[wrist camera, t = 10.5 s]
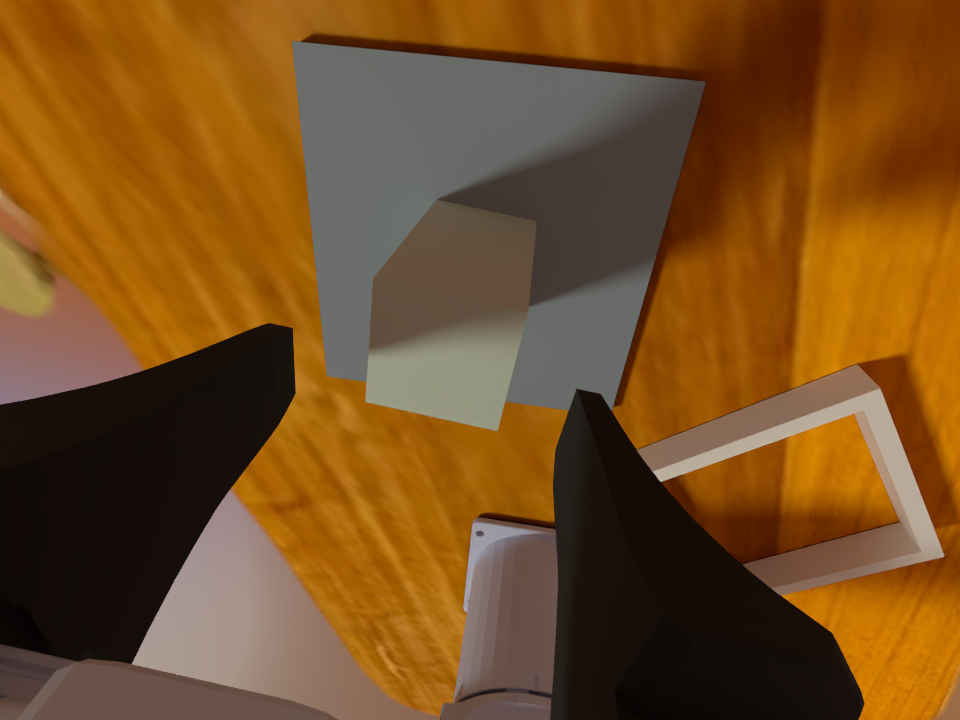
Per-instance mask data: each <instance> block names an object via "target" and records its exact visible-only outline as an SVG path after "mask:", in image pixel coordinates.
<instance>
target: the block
mask: <svg viewBox="0 0 960 720" xmlns="http://www.w3.org/2000/svg"><path fill="white" fill-rule="evenodd" d="M536 226H537V221H534V220H530V219H525V218H520V217H516V216H511V215H506V214H502V213H497V212H493V211H488V210H483V209H479V208H474V207H469V206H465V205H460V204H456V203H451V202H446V201H442V200H437V199H436V201H435V202H434V203H433V204H432V206H431V207H430V208H429V209H428V211H427V212H426V213H425V214H424V216H423V217H422V218H421V219H420V221H419V222H418V223H417V224H416V226H415V227H414V228H413V229H412V231H411V232H410V233H409V234H408V236H407V237H406V238H405V239H404V241H403V242H402V243H401V244H400V246H399V247H398V248H397V249H396V251H395V252H394V253H393V254H392V256H391V257H390V258H389V259H388V261H387V262H386V263H385V264H384V266H383V267H382V268H381V269H380V271H379V272H378V273H377V274H376V275H375V277H374V278H373V288H372V304H371V320H370V337H369V353H368V369H367V385H366V401H365V402H368V403H373V404H377V405H382V406H387V407H391V408H396V409H400V410H405V411H409V412H414V413H418V414H423V415H427V416H432V417H436V418H441V419H445V420H450V421H454V422H459V423H463V424H468V425H472V426H477V427H481V428H486V429H490V430H495V431H498V427H499V423H500V419H501V415H502V411H503V408H504V404H505V400H506V396H507V392H508V388H509V384H510V381H511V377H512V373H513V369H514V365H515V361H516V358H517V354H518V350H519V346H520V342H521V338H522V334H523V331H524V327H525V323H526V319H527V315H528V310H529V299H530V289H531V278H532V268H533V257H534V247H535V237H536Z"/></svg>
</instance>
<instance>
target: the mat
mask: <svg viewBox="0 0 960 720" xmlns="http://www.w3.org/2000/svg"><path fill="white" fill-rule="evenodd" d="M292 46H293V56H294V65H295V75H296V84H297V94H298V103H299V113H300V122H301V132H302V141H303V151H304V160H305V170H306V179H307V189H308V198H309V208H310V218H311V227H312V237H313V246H314V256H315V265H316V275H317V284H318V294H319V303H320V313H321V322H322V332H323V341H324V351H325V360H326V370H327V376H330V377H337V378H344V379H351V380H358V381H366V382H367V369H368V353H369V337H370V320H371V304H372V288H373V278H374V277H375V275H376V274H377V273H378V272H379V271H380V269H381V268H382V267H383V266H384V264H385V263H386V262H387V261H388V259H389V258H390V257H391V256H392V254H393V253H394V252H395V251H396V249H397V248H398V247H399V246H400V244H401V243H402V242H403V241H404V239H405V238H406V237H407V236H408V234H409V233H410V232H411V231H412V229H413V228H414V227H415V226H416V224H417V223H418V222H419V221H420V219H421V218H422V217H423V216H424V214H425V213H426V212H427V211H428V209H429V208H430V207H431V206H432V204H433V203H434V202H435V201H436V199H437V200H442V201H446V202H451V203H456V204H460V205H465V206H469V207H474V208H479V209H483V210H488V211H493V212H497V213H502V214H506V215H511V216H516V217H520V218H525V219H530V220H534V221H537V226H536V237H535V247H534V257H533V268H532V278H531V289H530V299H529V310H528V315H527V319H526V323H525V327H524V331H523V334H522V338H521V342H520V346H519V350H518V354H517V358H516V361H515V365H514V369H513V373H512V377H511V381H510V384H509V388H508V392H507V396H506V400H505V401H507V402H514V403H521V404H528V405H535V406H542V407H549V408H556V409H563V410H569V409H570V406H571V403H572V400H573V397H574V394H575V392H576V389H580V390H585V391H590V392H594V393H599V394H601V395H602V396H603V398H604V400H605V401H606V403H607V405H608V406H609V408H610V409H611V411H612V408H613V405H614V401H615V398H616V394H617V391H618V387H619V384H620V380H621V377H622V373H623V370H624V367H625V363H626V360H627V356H628V353H629V349H630V346H631V342H632V339H633V335H634V332H635V328H636V325H637V321H638V318H639V314H640V311H641V307H642V304H643V300H644V297H645V293H646V290H647V286H648V283H649V279H650V276H651V272H652V269H653V265H654V262H655V258H656V255H657V251H658V248H659V244H660V241H661V237H662V234H663V230H664V227H665V224H666V220H667V217H668V213H669V210H670V206H671V203H672V199H673V196H674V192H675V189H676V185H677V182H678V178H679V175H680V171H681V168H682V164H683V161H684V157H685V154H686V150H687V147H688V143H689V140H690V136H691V133H692V129H693V126H694V122H695V119H696V115H697V112H698V108H699V105H700V101H701V98H702V94H703V91H704V87H705V84H706V82H704V81H696V80H686V79H676V78H666V77H656V76H645V75H635V74H625V73H615V72H604V71H594V70H584V69H574V68H563V67H553V66H543V65H533V64H523V63H512V62H502V61H492V60H482V59H471V58H461V57H451V56H441V55H430V54H420V53H410V52H400V51H390V50H379V49H369V48H359V47H349V46H338V45H328V44H318V43H308V42H295V41H292Z"/></svg>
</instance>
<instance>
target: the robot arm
mask: <svg viewBox="0 0 960 720" xmlns="http://www.w3.org/2000/svg"><path fill="white" fill-rule="evenodd" d="M295 394H296V392H295V370H294V347H293V328H290V327H285V326H280V325H276V324H271V323H268V324H265V325H261V326H259V327H256V328H253V329H251V330H248V331H246V332H243V333H241V334H238V335H236V336H233V337H231V338H228V339H226V340H224V341H221V342H219V343H216V344H214V345H211V346H209V347H206V348H204V349H201V350H199V351H196V352H194V353H191V354H189V355H186V356H183V357H180V358H178V359H175V360H172V361H169V362H167V363H164V364H161V365H158V366H156V367H153V368H150V369H147V370H144V371H141V372H138V373H135V374H132V375H128V376H125V377H121V378H118V379H114V380H111V381H107V382H104V383H100V384H97V385H92V386H89V387H85V388H80V389H75V390H71V391H66V392H62V393H58V394H53V395H48V396H44V397H39V398H35V399H29V400H24V401H18V402H13V403H7V404H2V405H0V720H337V719H336V718H334V717H333V716H331V715H330V714H328V713H326V712H323V711H320V710H317V709H314V708H311V707H309V706H306V705H303V704H300V703H297V702H294V701H291V700H286V699H282V698H278V697H273V696H269V695H264V694H260V693H255V692H251V691H247V690H242V689H238V688H233V687H229V686H225V685H220V684H216V683H211V682H207V681H202V680H198V679H194V678H189V677H185V676H180V675H176V674H172V673H167V672H162V671H158V670H154V669H149V668H145V667H141V666H136V665H132V662H133V660H134V658H135V656H136V654H137V652H138V650H139V648H140V645H141V644H142V642H143V640H144V638H145V636H146V634H147V631H148V629H149V627H150V626H151V624H152V622H153V620H154V618H155V616H156V614H157V612H158V611H159V608H160V607H161V605H162V603H163V601H164V599H165V597H166V595H167V593H168V591H169V590H170V588H171V586H172V584H173V582H174V580H175V578H176V577H177V575H178V573H179V572H180V570H181V568H182V566H183V564H184V562H185V561H186V559H187V557H188V556H189V554H190V552H191V550H192V549H193V547H194V545H195V543H196V542H197V540H198V538H199V537H200V535H201V533H202V532H203V530H204V528H205V526H206V525H207V523H208V522H209V520H210V518H211V516H212V515H213V513H214V512H215V510H216V509H217V507H218V505H219V504H220V503H221V501H222V500H223V498H224V497H225V495H226V494H227V493H228V491H229V490H230V489H231V487H232V486H233V485H234V484H235V482H236V481H237V480H238V478H239V477H240V476H241V474H242V473H243V472H244V470H245V469H246V468H247V466H248V465H249V464H250V462H251V461H252V460H253V458H254V457H255V456H256V455H257V453H258V452H259V451H260V449H261V448H262V447H263V445H264V444H265V443H266V441H267V440H268V439H269V437H270V436H271V435H272V433H273V432H274V430H275V429H276V428H277V426H278V425H279V423H280V421H281V419H282V418H283V416H284V414H285V412H286V411H287V409H288V407H289V405H290V403H291V401H292V399H293V397H294V395H295ZM553 495H554V513H555V529H550V528H544V527H538V526H531V525H525V524H519V523H512V522H506V521H499V520H493V519H487V518H476V519H475V520H474V521H473V526H472V534H471V543H470V552H469V561H468V571H467V580H466V589H465V598H464V607H463V609H464V611H465V612H467V617H466V623H465V630H464V636H463V643H462V649H461V656H460V662H459V669H458V675H457V682H456V688H455V695H454V701H453V703H444V704H442V710H441V716H440V720H858V719H859V717H860V715H861V712H862V709H863V706H864V701H863V697H862V693H861V690H860V688H859V686H858V684H857V682H856V680H855V678H854V676H853V674H852V672H851V670H850V668H849V666H848V664H847V662H846V660H845V658H844V655H843V653H842V651H841V649H840V647H839V645H838V643H837V641H836V640H835V638H834V636H833V634H832V633H831V632H830V631H828V630H827V629H826V628H824V627H823V626H822V625H820V624H819V623H817V622H816V621H815V620H813V619H812V618H811V617H809V616H808V615H806V614H805V613H804V612H802V611H801V610H800V609H798V608H797V607H795V606H794V605H793V604H791V603H790V602H788V601H787V600H786V599H784V598H783V597H782V596H780V595H779V594H778V593H776V592H775V591H774V590H772V589H771V588H770V587H769V586H768V585H766V584H765V583H764V582H763V581H761V580H760V579H759V578H758V577H757V576H755V575H754V574H753V573H752V572H750V571H749V570H748V569H747V568H746V567H744V566H743V565H742V564H741V563H740V562H739V561H737V560H736V559H735V558H734V557H733V556H732V555H731V554H729V553H728V552H727V551H726V550H725V549H724V548H723V547H722V546H721V545H720V544H719V543H718V542H717V541H715V540H714V539H713V538H712V537H711V536H710V535H709V534H708V533H707V532H706V531H705V530H704V529H703V528H702V527H701V526H700V525H699V524H698V523H697V522H696V521H695V520H694V519H693V518H692V517H691V516H690V515H689V514H688V513H687V512H686V510H685V509H684V508H683V507H682V506H681V505H680V504H679V503H678V502H677V501H676V499H675V498H674V497H673V496H672V495H671V494H670V493H669V491H668V490H667V489H666V488H665V487H664V486H663V484H662V483H661V482H660V481H659V479H658V478H657V477H656V475H655V474H654V473H653V471H652V470H651V469H650V468H649V466H648V465H647V464H646V462H645V461H644V460H643V458H642V457H641V455H640V454H639V453H638V451H637V450H636V448H635V447H634V445H633V444H632V442H631V441H630V439H629V438H628V436H627V435H626V433H625V432H624V430H623V429H622V427H621V425H620V424H619V422H618V421H617V419H616V417H615V416H614V414H613V413H612V411H611V409H610V408H609V406H608V405H607V403H606V401H605V400H604V398H603V396H602V395H601V394H599V393H594V392H590V391H585V390H580V389H576V392H575V394H574V397H573V400H572V403H571V406H570V409H569V412H568V415H567V418H566V421H565V424H564V426H563V429H562V432H561V435H560V438H559V441H558V444H557V447H556V451H555V463H554V478H553Z"/></svg>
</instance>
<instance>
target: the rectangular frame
mask: <svg viewBox="0 0 960 720" xmlns="http://www.w3.org/2000/svg"><path fill="white" fill-rule="evenodd" d="M851 414H854V415H855V417H856V419H857V422H858V424H859V427H860V429H861V431H862V434H863V436H864V438H865V441H866V443H867V445H868V448H869V450H870V453H871V455H872V457H873V460H874V462H875V464H876V467H877V469H878V472H879V474H880V476H881V479H882V481H883V483H884V486H885V488H886V491H887V493H888V495H889V498H890V500H891V502H892V505H893V507H894V509H895V512H896V514H897V517H898V519H899V521H900V522H899V523H895V524H891V525H887V526H884V527H880V528H876V529H873V530H869V531H865V532H861V533H858V534H854V535H850V536H846V537H843V538H839V539H835V540H831V541H828V542H824V543H820V544H816V545H813V546H809V547H805V548H802V549H798V550H794V551H790V552H787V553H783V554H779V555H775V556H772V557H768V558H764V559H760V560H757V561H753V562H749V563H745V564H742V565H743V566H744V567H746V568H747V569H748V570H749V571H750V572H752V573H753V574H754V575H755V576H757V577H758V578H759V579H760V580H761V581H763V582H764V583H765V584H766V585H768V586H769V587H770V588H771V589H772V590H774V591H775V592H776V593H778V594H779V595H780V596H781V595H785V594H789V593H793V592H798V591H802V590H806V589H810V588H815V587H819V586H823V585H827V584H831V583H836V582H840V581H844V580H848V579H853V578H857V577H861V576H865V575H870V574H874V573H878V572H882V571H887V570H891V569H895V568H899V567H904V566H908V565H912V564H916V563H920V562H925V561H929V560H933V559H937V558H942V557H945V556H944V553H943V551H942V548H941V545H940V543H939V540H938V538H937V535H936V532H935V530H934V527H933V525H932V522H931V519H930V517H929V514H928V512H927V509H926V506H925V504H924V501H923V498H922V496H921V493H920V491H919V488H918V485H917V483H916V480H915V478H914V475H913V472H912V470H911V467H910V464H909V462H908V459H907V457H906V454H905V451H904V449H903V446H902V444H901V441H900V438H899V436H898V433H897V430H896V428H895V425H894V423H893V420H892V417H891V415H890V412H889V410H888V407H887V404H886V402H885V399H884V396H883V394H882V391H881V389H880V387H879V386H878V385H877V384H876V383H875V382H874V381H873V380H872V379H871V378H870V377H869V376H868V375H867V374H866V373H865V372H864V371H863V370H862V369H861V368H860V367H859V366H858V365H857V364H856V365H854V366H851V367H849V368H846V369H844V370H841V371H838V372H836V373H833V374H831V375H828V376H826V377H823V378H820V379H818V380H815V381H813V382H810V383H808V384H805V385H802V386H800V387H797V388H795V389H792V390H790V391H787V392H785V393H782V394H779V395H777V396H774V397H772V398H769V399H767V400H764V401H761V402H759V403H756V404H754V405H751V406H749V407H746V408H743V409H741V410H738V411H736V412H733V413H731V414H728V415H725V416H723V417H720V418H718V419H715V420H713V421H710V422H708V423H705V424H702V425H700V426H697V427H695V428H692V429H690V430H687V431H684V432H682V433H679V434H677V435H674V436H672V437H669V438H666V439H664V440H661V441H659V442H656V443H654V444H651V445H648V446H646V447H643V448H641V449H638V450H637V451H638V453H639V454H640V455H641V457H642V458H643V460H644V461H645V462H646V464H647V465H648V466H649V468H650V469H651V470H652V471H653V473H654V474H655V475H656V477H657V478H658V479H659V481H660V482H662V481H665V480H668V479H671V478H673V477H676V476H679V475H682V474H685V473H688V472H690V471H693V470H696V469H699V468H702V467H704V466H707V465H710V464H713V463H716V462H719V461H721V460H724V459H727V458H730V457H733V456H735V455H738V454H741V453H744V452H747V451H750V450H752V449H755V448H758V447H761V446H764V445H766V444H769V443H772V442H775V441H778V440H781V439H783V438H786V437H789V436H792V435H795V434H797V433H800V432H803V431H806V430H809V429H812V428H814V427H817V426H820V425H823V424H826V423H828V422H831V421H834V420H837V419H840V418H843V417H845V416H848V415H851Z"/></svg>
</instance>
